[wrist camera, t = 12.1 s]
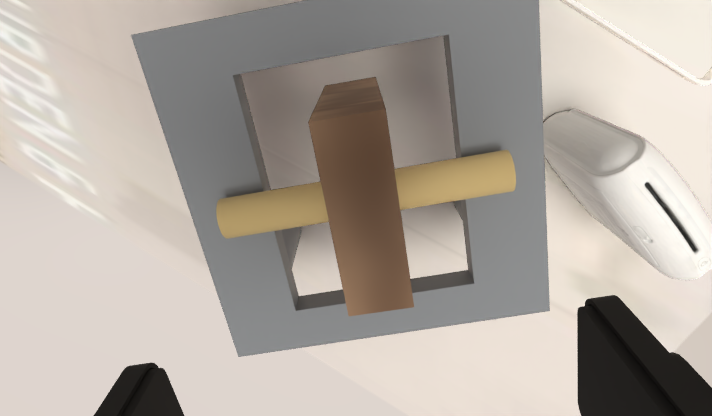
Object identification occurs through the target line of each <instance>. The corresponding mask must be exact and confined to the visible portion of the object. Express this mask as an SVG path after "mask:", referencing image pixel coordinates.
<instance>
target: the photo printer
mask: <svg viewBox="0 0 712 416" xmlns="http://www.w3.org/2000/svg"><path fill="white" fill-rule="evenodd" d="M543 137H544V156H545V157H546V159H547V160H548V162H549V163H550V165H551V166H552V167H553V169H554V170H555V171H556V173H557V174H558V175H559V177H560V178H561V179H562V180H563V182H564V183H565V184H566V186H567V187H568V188H569V189H570V191H571V192H572V193H573V194H574V196H575V197H576V198H577V199H578V200H579V202H580V203H581V204H582V205H583V206H584V207H585V209H586V210H587V211H588V212H589V213H590V214H591V215H592V216H593V217H594V218H595V219H596V220H598V221H599V222H600V223H601V224H603V225H604V226H605V227H606V228H607V229H609V230H610V231H611V232H612V233H614V234H615V235H616V236H617V237H618V238H620V239H621V240H622V241H623V242H624V243H626V244H627V245H628V246H629V247H630V248H632V249H633V250H634V251H635V252H636V253H637V254H639V255H640V256H641V257H642V258H643V259H645V260H646V261H647V262H648V263H649V264H651V265H652V266H653V267H654V268H655V269H657V270H658V271H659V272H661V273H662V274H664V275H666V276H668V277H670V278H673V279H678V280H694V279H699V278H701V277H702V276H703V275H704V274H705V273H706V272H707V271H709V270H711V269H712V221H711V219H710V217H709V215H708V214H707V212H706V210H705V209H704V207H703V206H702V204H701V203H700V201H699V200H698V198H697V197H696V195H695V194H694V192H693V191H692V190H691V188H690V187H689V185H688V184H687V183H686V181H685V180H684V179H683V177H682V176H681V175H680V174H679V172H678V171H677V170H676V168H675V167H674V166H673V165H672V164H671V162H670V161H669V160H668V159H667V158H666V157H665V156H664V155H663V154H662V153H661V152H660V151H659V150H658V149H657V148H656V147H655V146H654V145H653V144H652V143H650V142H649V141H647V140H646V139H645V138H643V137H641V136H639V135H637V134H635V133H632V132H630V131H628V130H625V129H623V128H621V127H618V126H616V125H614V124H611V123H609V122H607V121H604V120H602V119H599V118H597V117H595V116H592V115H590V114H587V113H585V112H582V111H580V110H577V109H571V110H570V111H568V112H567V111H564V112H559V113H556V114H554V115H552V116H551V117H549V118H548V119H547V120H546V121H545V122H544V123H543Z"/></svg>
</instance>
